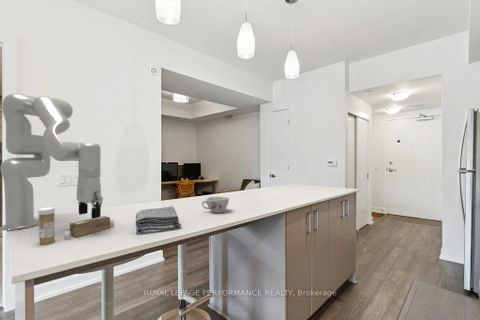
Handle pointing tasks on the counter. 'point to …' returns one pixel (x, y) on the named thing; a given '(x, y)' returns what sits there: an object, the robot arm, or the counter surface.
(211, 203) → the teacup
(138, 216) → the towel
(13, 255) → the counter surface
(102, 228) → the frame
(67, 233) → the panel
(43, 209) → the pill bottle
